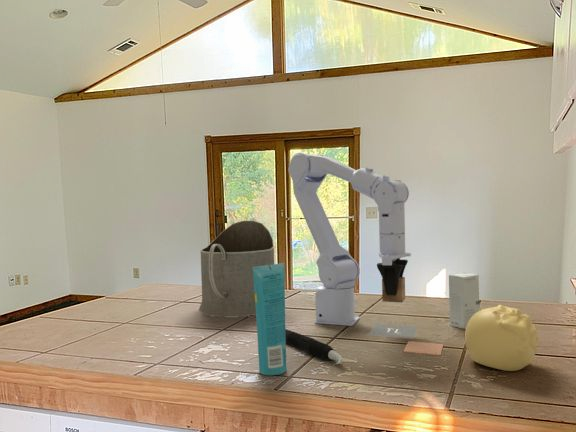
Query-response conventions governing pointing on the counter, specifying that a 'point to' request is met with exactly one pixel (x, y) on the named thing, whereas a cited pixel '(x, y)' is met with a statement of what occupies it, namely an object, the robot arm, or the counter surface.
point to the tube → (270, 317)
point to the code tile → (393, 331)
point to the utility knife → (312, 346)
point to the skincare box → (463, 298)
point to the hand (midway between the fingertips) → (393, 293)
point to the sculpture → (501, 338)
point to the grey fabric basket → (234, 269)
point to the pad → (423, 348)
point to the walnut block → (400, 292)
